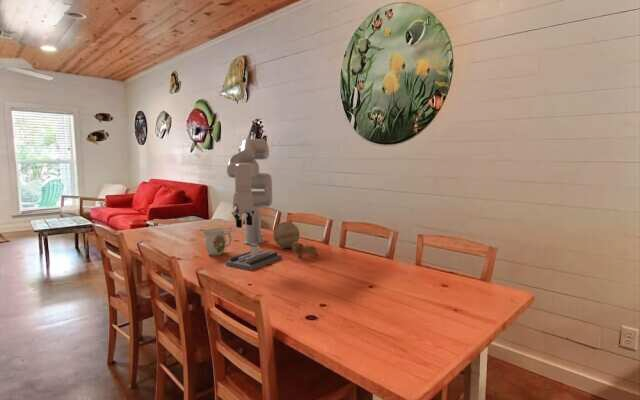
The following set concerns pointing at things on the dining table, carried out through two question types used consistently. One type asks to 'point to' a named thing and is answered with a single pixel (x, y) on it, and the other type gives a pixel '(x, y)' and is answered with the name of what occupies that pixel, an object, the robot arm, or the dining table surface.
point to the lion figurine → (303, 249)
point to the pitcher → (216, 240)
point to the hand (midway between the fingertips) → (244, 225)
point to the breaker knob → (254, 249)
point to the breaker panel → (249, 267)
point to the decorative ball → (286, 234)
